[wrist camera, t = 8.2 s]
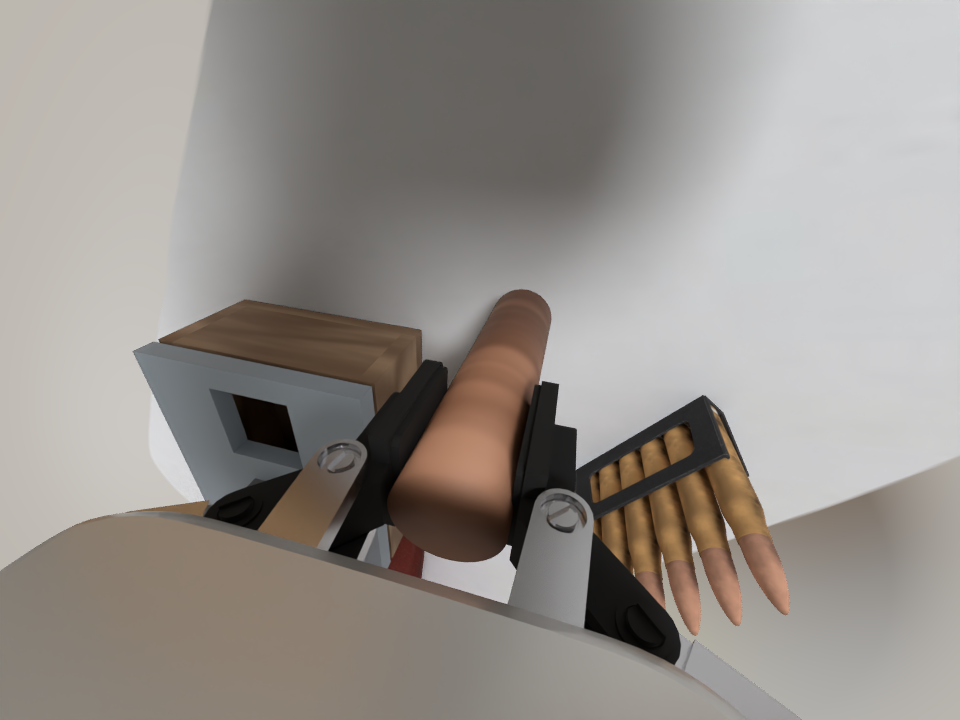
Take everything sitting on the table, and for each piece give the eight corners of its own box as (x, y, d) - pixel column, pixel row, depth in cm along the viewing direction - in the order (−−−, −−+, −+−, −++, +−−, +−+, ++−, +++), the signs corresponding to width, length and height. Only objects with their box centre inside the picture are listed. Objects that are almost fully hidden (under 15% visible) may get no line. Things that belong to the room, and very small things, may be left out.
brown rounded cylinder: (496, 285, 19) (382, 461, 8) (555, 294, 18) (515, 493, 8) (491, 338, 20) (390, 543, 10) (546, 347, 20) (501, 574, 9)
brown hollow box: (244, 299, 28) (158, 339, 22) (421, 330, 25) (374, 383, 20) (288, 454, 36) (233, 512, 30) (424, 488, 34) (392, 558, 28)
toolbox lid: (153, 341, 22) (18, 403, 17) (371, 386, 19) (293, 475, 14) (230, 515, 30) (156, 592, 25) (390, 561, 28) (345, 658, 23)
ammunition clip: (591, 485, 29) (594, 670, 19) (574, 471, 28) (567, 651, 18) (723, 412, 23) (830, 621, 13) (704, 394, 23) (797, 593, 13)
